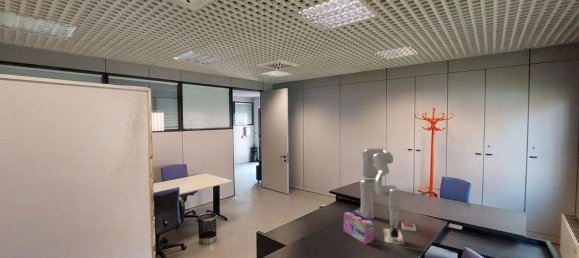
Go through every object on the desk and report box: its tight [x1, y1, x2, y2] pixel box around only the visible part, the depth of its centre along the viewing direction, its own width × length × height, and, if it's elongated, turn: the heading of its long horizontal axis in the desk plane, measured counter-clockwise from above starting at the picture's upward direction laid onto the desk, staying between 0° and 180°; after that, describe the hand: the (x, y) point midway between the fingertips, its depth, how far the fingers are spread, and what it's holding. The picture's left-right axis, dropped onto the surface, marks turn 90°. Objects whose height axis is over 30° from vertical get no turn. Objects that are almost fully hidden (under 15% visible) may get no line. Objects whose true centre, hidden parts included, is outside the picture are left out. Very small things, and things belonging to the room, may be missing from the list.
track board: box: [382, 228, 405, 245], centre depth 176 cm, size 12×22×1 cm, turn 163°
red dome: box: [404, 220, 413, 228], centre depth 188 cm, size 5×5×6 cm
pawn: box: [389, 224, 400, 238], centre depth 169 cm, size 5×5×9 cm
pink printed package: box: [343, 210, 375, 245], centre depth 178 cm, size 24×8×14 cm, turn 28°
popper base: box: [400, 221, 417, 232], centre depth 188 cm, size 9×9×3 cm
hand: (394, 234), depth 169 cm, fingers closed on pawn, 4 cm apart
